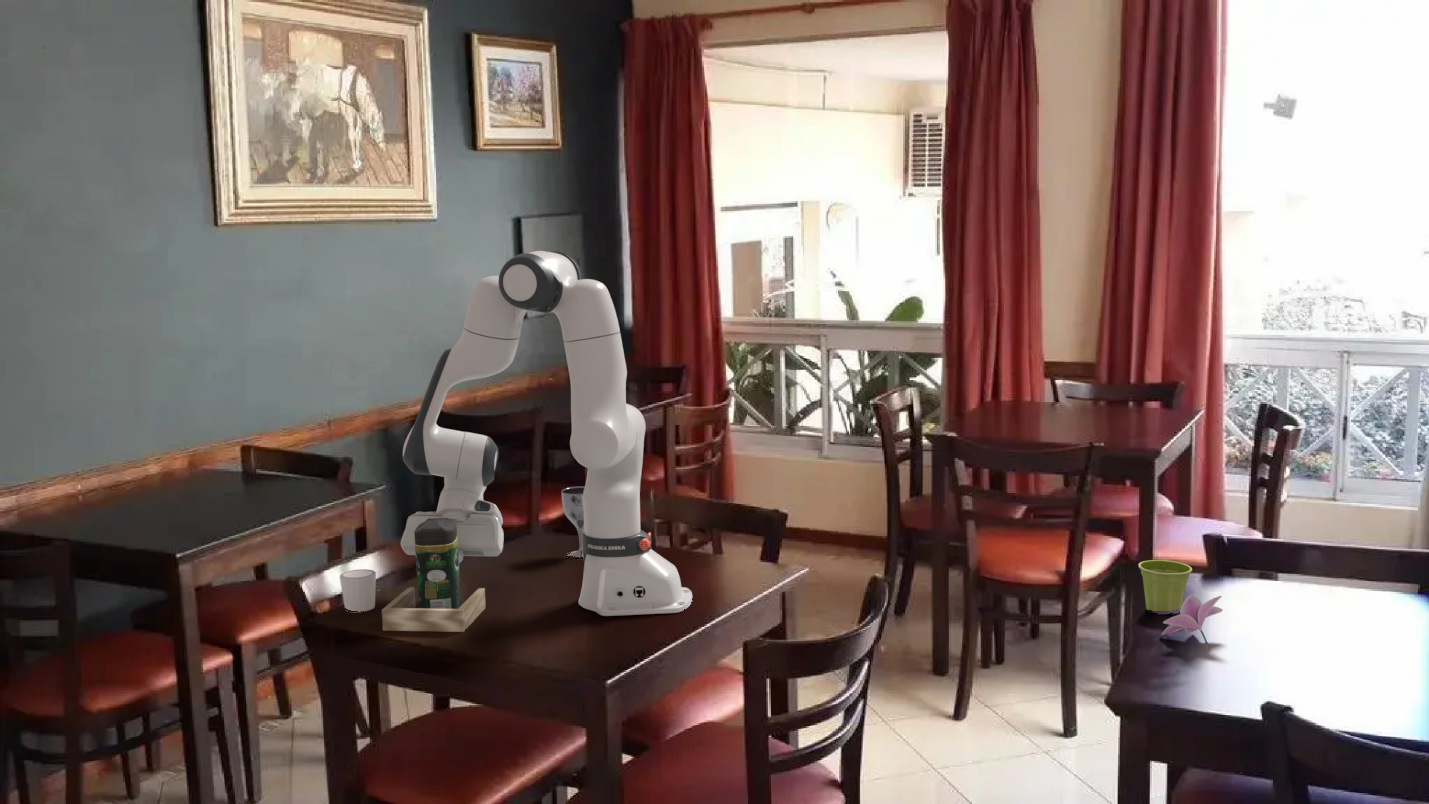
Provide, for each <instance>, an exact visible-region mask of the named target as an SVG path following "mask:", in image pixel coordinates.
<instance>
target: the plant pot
mask: <svg viewBox="0 0 1429 804" xmlns="http://www.w3.org/2000/svg"><path fill="white" fill-rule="evenodd" d="M1138 568H1139V569H1140V573H1141V576H1142V582H1143V590H1144V591H1143V592H1144V599H1145V600H1144V601H1145V607H1146V609H1145V610H1147V611H1149V610H1152V611H1172V610H1176V609H1180V608H1181V606H1182V604H1183V602H1184V596H1185V592H1186V587H1187V582H1188V579H1189V577H1190V573H1191V572H1192V571H1193V568H1192V567H1191V566H1190V565H1188V564H1185V563H1183V562H1178V561H1173V560H1167V559H1166V560H1165V559H1164V560H1161V559H1152V560H1151V559H1150V560H1143V561H1141V562H1139V563H1138Z"/></svg>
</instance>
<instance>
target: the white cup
mask: <svg viewBox="0 0 1429 804" xmlns="http://www.w3.org/2000/svg"><path fill="white" fill-rule="evenodd" d="M376 575H377V572H376V571H375V570H373V569H361V568H360V569H353V570H348V571H345V572H342V573H340V575H339V580H340V586H341V593H342V598H343V605H344V609H345V608H346V609H348V610H351V611H358V612H357V613H362V612H363V611H364V612H367V611H370V610H372V609H375V607H376V582H377V580H376V579H377V577H376ZM361 611H362V612H361ZM364 612H363V613H364Z"/></svg>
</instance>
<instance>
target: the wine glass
mask: <svg viewBox="0 0 1429 804" xmlns="http://www.w3.org/2000/svg"><path fill="white" fill-rule="evenodd" d="M584 488H585V485H584V486H580V485H579V486H571V487H567V488H564V489H562V490H561V502H562V503H561V504H562V508H563V511H564V514H565V516H566V518H567V519H568V520H569V521H570V522H571V524H573V525H574V527H575V528H576V531H577V534H578V540H579V548H578V550H574V551H571V553H570V552H569V553H570V554H568V553H567V554H568V555H567V556H573V557H574V556H575V557H579V558H580V557H583V556H582V534H583V533H584V507H583V492H584Z"/></svg>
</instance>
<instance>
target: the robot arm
mask: <svg viewBox="0 0 1429 804" xmlns="http://www.w3.org/2000/svg"><path fill="white" fill-rule="evenodd" d="M527 312H538V313H543V314H549V313H551V312H552V313H553V314H555V316H556V317H557V319H558V321H559V325H560V328H561V334H562V340H563V345H564V352H565V356H566V357H565V358H566V362H567V367H568V368H567V369H568V374H569V375H568V376H569V382H570V414H571V415H570V416H571V434H570V437H569V438H570V440H569V446H570V447H569V448H570V452H571V455H572V456H573V458H574V459H575V460H576V461H577V463H578V464H580V465H581V466H582V467H585V468H587V472H586V474H587V475H586V479H585V485H584V486H585V488H584V492H583V507H584V533H583V534H582V556H583V559H582V560H583V562H584V564H583V565H584V566H583V575H582V576H583V577H582V584H581V585H582V586H581V589H580V594H579V595H580V596H579V598H578V605H579V606H581V607H582V608H584V609H585V610H589V611H593V612H596V613H597V615H598V614H599V615H600V616H603V617H609V616H610V617H611V616H612V617H614V616H634V615H636V616H637V615H655V614H657V615H658V614H659V615H660V614H677V613H680V612H683V611H685V610H686V609H688V608H689V607H690V605H691V604H692V603H691V602H693V600H692V598H693V592H692V590H691V589H689V588H688V587H685V586H684V587H683V586H682V583H681V577H680V575H679V572H678V569H677V567H676V566H675V565H674V564H673V563H671V562H670V561H669V560H667V559H666V558H664V557H663V556H661V555H660V554H659V553H657V552H656V551H655V550H653V549H652V534H651V533H652V532H651V531H650V532H648V533H647V532H645V531H644V530H642V529H641V499H640V498H641V496H640V492H641V479H642V469H643V463H644V461H643V460H644V447H645V435H646V428H647V426H646V425H647V424H646V420H645V418H644V415H643V414H642V412H641V411H640V410H639V409H638V408H636V407H635V406H634V405H631V404H629V403H627V389H626V388H627V384H626V383H627V376H628V370H627V363H626V358H625V353H624V352H625V351H624V347H623V341H622V334H621V330H620V324H619V319H618V316H617V312H616V308H615V305H614V302H613V299H612V297H611V293H610V292H609V290H608V288H607V286H606V285H605V284H604V283H603V282H601V281H598V280H596V279H590V278H582V273H581V269H580V266H579V265H578V263H577V262H576V261H575V260H574V259H573V258H572V257H570V256H569V255H567V254H565V253H564V252H560V251H544V250H534V251H529V252H525V253H520V254H517V255H515V256H513V257H511V258H510V259H509V260H507V261H506V262H505V263H504V265H503V266H502V268H501V270H500V271H499V275H491V276H490V275H489V276H486V277H484V278H483V277H482V279H480V280H479V281H478V282H477V283H476V285H475V287H474V289H473V291H472V294H471V297H470V299H469V303H468V306H467V310H466V313H465V318H464V323H463V329H462V331H461V332H462V333H461V335H460V337H459V339H458V341H457V342H456V344H454V346H453V347H452V348H447V349H445V350H444V351H443V352H442V354H441V356H440V357H439V359H438V360H437V363H436V366H435V368H434V370H433V373H432V376H431V378H430V381H429V384H428V386H427V389H426V391H425V394H424V398H423V400H422V403H421V405H420V406H419V407H420V408H419V410H418V414H417V416H416V418H415V422H414V424H413V426H412V427H411V429H410V431H409V433H408V434H407V437H406V439H405V440H404V444H403V446H402V447H403V448H402V461H403V462H404V464H405V465H406V467H407V468H408V469H409V470H410V472H412V473H413V474H415V475H423V476H425V475H426V476H432V475H433V476H436V477H437V476H438V477H443V478H444V482H443V483H444V487H443V489H442V490H441V492H440V495H439V499H438V503H437V508H436V511H416V512H415V513H412V514H411V515H409V516H408V518H407V520H406V524H405V528H404V531H403V534H402V537H401V539H400V547H401V548H402V551H403V552H404V553H405V554H406V555H408V556H416V552H415V535H414V532H415V530H416V528H417V527H418V526H419V525H420V524H421V523H423V522H425V521H426V520H427V519H429V518H448V519H450V520H451V521H453V522H454V523H455V524H456V527H457V541H458V559H459V565H460V564H461V563H462V562H463V560H464V557H498V556H500V554H501V553H502V552H503V550H504V539H505V538H504V537H505V535H504V529H503V528H502V525H503V523H504V521H503V520H504V519H503V516H502V513H501V511H500V510H499V508H498V506H497V505H496V504H495V503H493V502H490V501H486V500H484V493H485V491H486V490H487V486H488V485H490V484H491V483H492V482H493V481H494V480H495V473H496V469H497V465H498V461H499V457H500V456H499V455H500V452H499V451H500V450H499V448H498V446H497V444H496V442H495V441H494V440H493V438H492V437H490V436H488V435H485V434H479V433H476V432H475V433H474V432H469V431H461V430H456V429H450V428H445V427H442V426H439V425H438V424H437V421H438V418H439V415H440V413H441V411H442V407H443V405H444V402H445V399H446V398H447V395H448V392H449V390H450V389H451V388H452V387H453V386H455V385H458V384H460V383H462V382H465V381H473V380H478V379H483V378H484V379H485V378H488V377H492V376H495V375H497V374H500V373H502V372H503V371H505V370H506V369H507V368H508V367H509V366H511V364H512V363H513V362H514V359H515V356H516V353H517V349H518V345H519V341H520V337H521V330H522V325H523V320H524V318H525V316H526V314H527ZM693 599H694V598H693ZM684 609H685V610H684Z"/></svg>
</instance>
